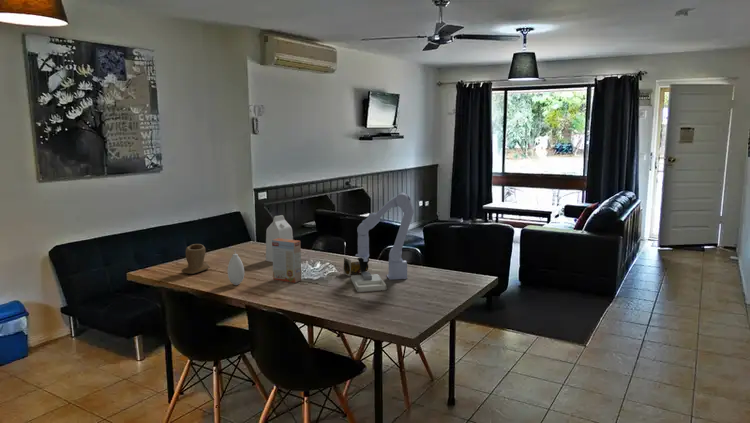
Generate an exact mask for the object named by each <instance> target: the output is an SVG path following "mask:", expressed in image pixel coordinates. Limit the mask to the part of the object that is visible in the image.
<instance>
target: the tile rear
mask: <svg viewBox="0 0 750 423" xmlns="http://www.w3.org/2000/svg"><path fill="white" fill-rule="evenodd" d="M363 274H371V273H370V271H368V270H367V271H366V272H361V273H360V275H361V276H362V278H363Z"/></svg>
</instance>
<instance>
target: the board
mask: <svg viewBox="0 0 750 423" xmlns="http://www.w3.org/2000/svg"><path fill="white" fill-rule="evenodd" d="M371 276H372V280H363V278H362V276H361V274H359V275H358V274H357V275H356V274H354V275H353V274H352V275H350V280H351V282H352V284H353V285H354V281H356V283H357V285H366V284H381V280H383V279H382V278H381V276H380V275H379V274H377V273H376V274H375V273H374V274H372V273H371Z"/></svg>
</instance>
